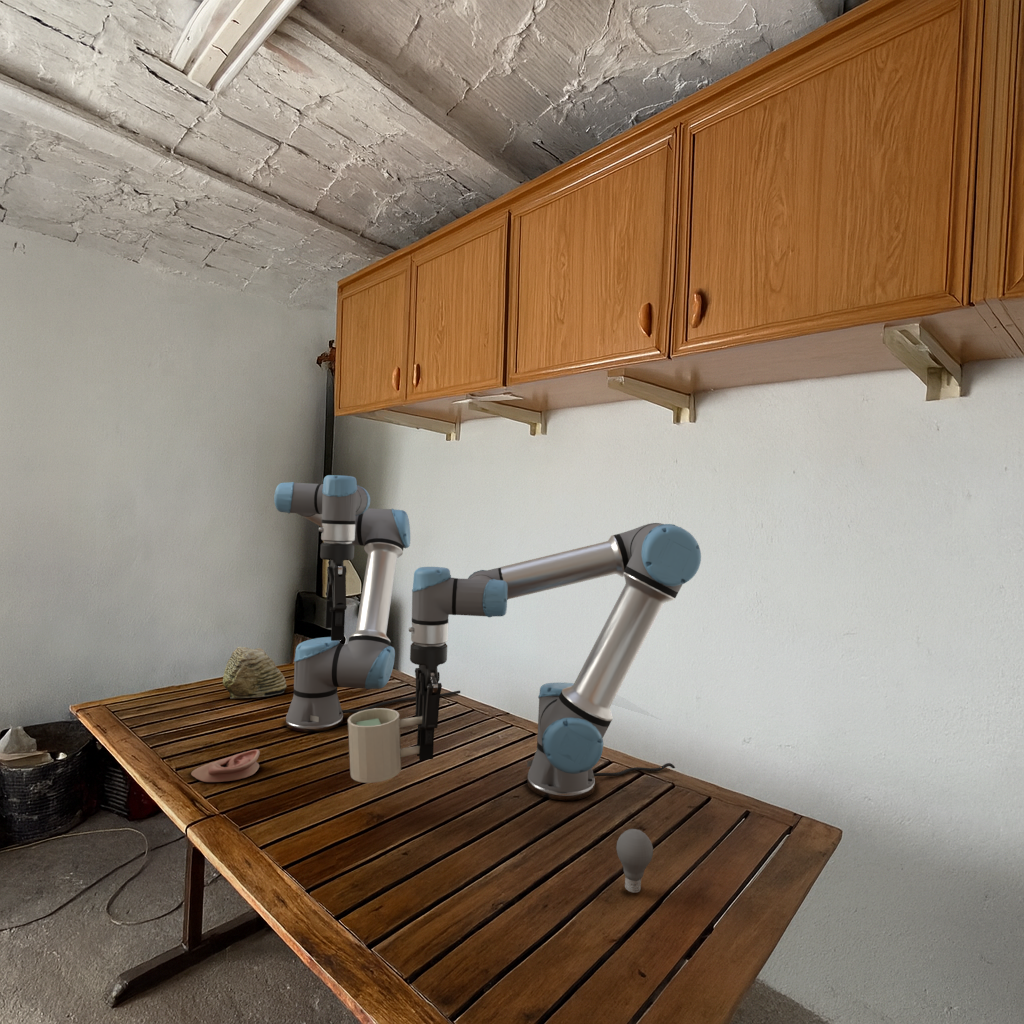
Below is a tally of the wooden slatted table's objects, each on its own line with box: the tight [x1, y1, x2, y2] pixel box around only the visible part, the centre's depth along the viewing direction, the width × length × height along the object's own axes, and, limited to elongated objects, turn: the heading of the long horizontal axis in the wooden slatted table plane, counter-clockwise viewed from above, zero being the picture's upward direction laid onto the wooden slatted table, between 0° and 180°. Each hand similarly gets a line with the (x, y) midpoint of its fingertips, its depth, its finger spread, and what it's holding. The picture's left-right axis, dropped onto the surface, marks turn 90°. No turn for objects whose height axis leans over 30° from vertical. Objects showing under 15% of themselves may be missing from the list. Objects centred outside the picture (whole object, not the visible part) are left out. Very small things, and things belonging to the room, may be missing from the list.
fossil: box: [222, 646, 288, 699], centre depth 198 cm, size 9×18×15 cm, turn 132°
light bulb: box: [615, 828, 654, 894], centre depth 106 cm, size 6×6×10 cm
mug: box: [347, 707, 422, 784], centre depth 128 cm, size 16×10×11 cm, turn 111°
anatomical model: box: [190, 748, 261, 783], centre depth 143 cm, size 13×4×12 cm
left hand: (334, 633), depth 147 cm, fingers open, 13 cm apart
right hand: (424, 756), depth 130 cm, fingers closed on mug, 2 cm apart
